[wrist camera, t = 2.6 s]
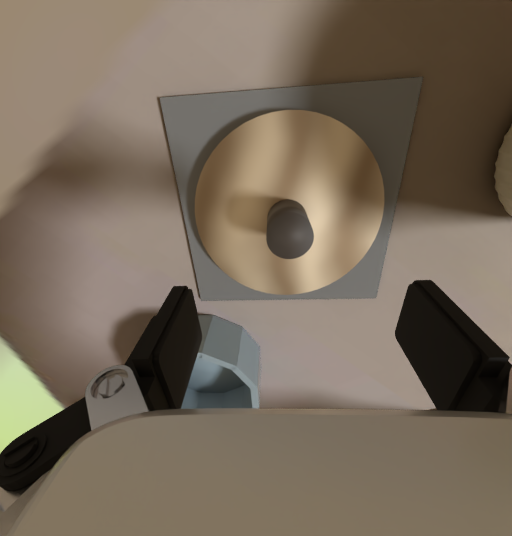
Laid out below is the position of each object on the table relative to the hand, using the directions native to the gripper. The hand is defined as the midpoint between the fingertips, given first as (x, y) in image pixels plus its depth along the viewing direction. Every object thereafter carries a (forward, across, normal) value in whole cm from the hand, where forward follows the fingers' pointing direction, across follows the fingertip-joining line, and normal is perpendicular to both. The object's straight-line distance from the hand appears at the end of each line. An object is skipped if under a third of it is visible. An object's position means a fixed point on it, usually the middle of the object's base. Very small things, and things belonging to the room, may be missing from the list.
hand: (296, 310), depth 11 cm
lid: (+15, 0, +1) cm, 15 cm away
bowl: (+15, +11, +21) cm, 28 cm away
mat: (+15, 0, +1) cm, 15 cm away
